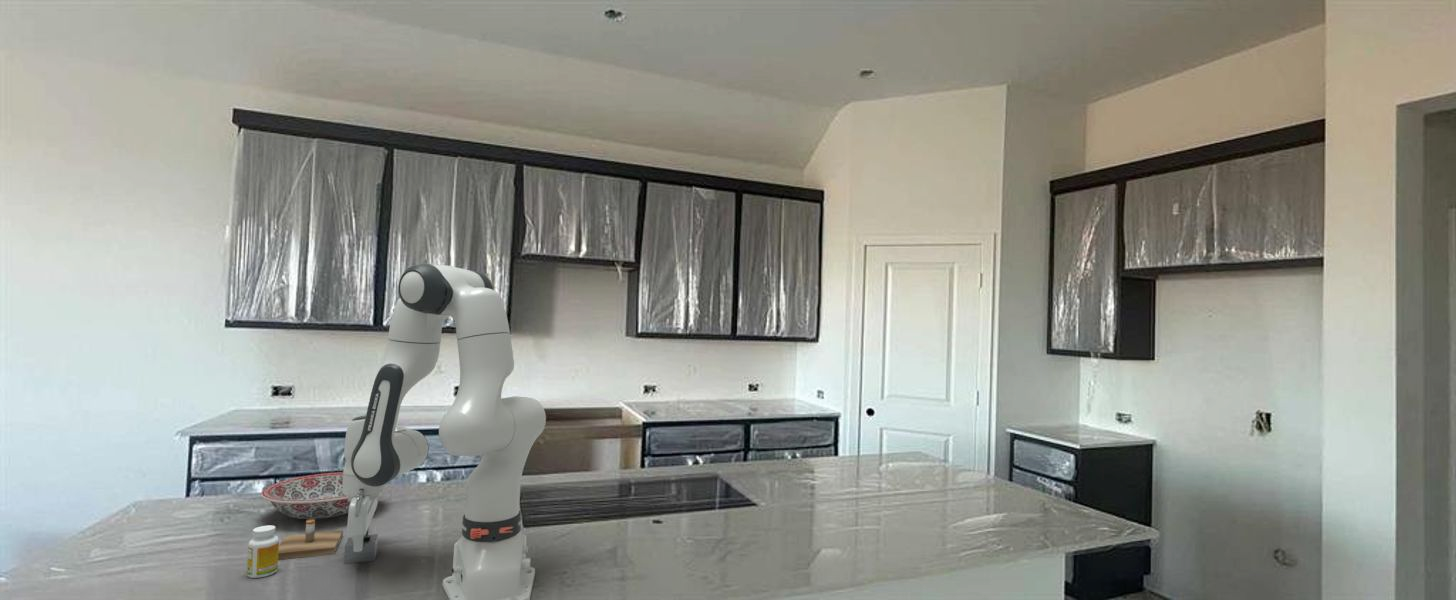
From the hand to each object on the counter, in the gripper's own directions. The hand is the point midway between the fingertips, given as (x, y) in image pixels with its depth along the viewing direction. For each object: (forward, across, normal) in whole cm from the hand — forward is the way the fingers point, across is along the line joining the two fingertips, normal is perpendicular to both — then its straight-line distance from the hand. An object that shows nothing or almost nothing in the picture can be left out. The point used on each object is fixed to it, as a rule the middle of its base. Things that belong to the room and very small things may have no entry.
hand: (361, 542), depth 148 cm
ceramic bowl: (+4, +35, +13) cm, 38 cm away
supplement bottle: (+4, -4, +18) cm, 19 cm away
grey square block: (+3, -1, 0) cm, 3 cm away
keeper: (+3, +9, +12) cm, 15 cm away
